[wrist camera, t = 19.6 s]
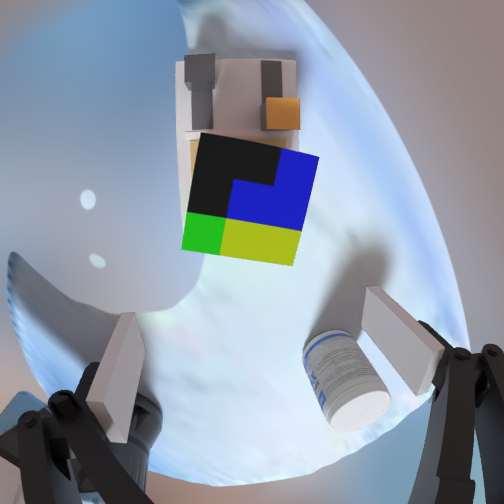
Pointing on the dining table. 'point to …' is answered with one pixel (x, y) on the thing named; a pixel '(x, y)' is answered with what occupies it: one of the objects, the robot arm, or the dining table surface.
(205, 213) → the puzzle toy
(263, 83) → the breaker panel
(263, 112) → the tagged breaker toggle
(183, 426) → the dining table surface
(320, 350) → the supplement tub
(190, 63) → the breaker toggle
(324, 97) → the dining table surface
